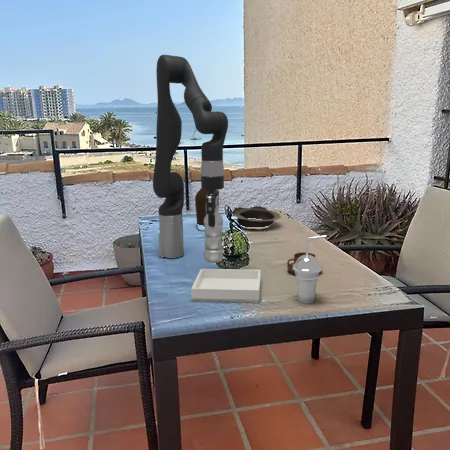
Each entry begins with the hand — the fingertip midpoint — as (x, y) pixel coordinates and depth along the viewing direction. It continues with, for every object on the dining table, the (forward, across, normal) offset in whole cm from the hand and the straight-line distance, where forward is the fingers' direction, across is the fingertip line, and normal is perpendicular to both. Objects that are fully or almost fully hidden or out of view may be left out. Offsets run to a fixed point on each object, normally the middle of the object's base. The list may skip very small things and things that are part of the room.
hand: (213, 223), depth 145 cm
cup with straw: (+18, +20, +30) cm, 41 cm away
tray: (+18, +14, +6) cm, 24 cm away
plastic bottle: (+14, 0, 0) cm, 14 cm away
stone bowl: (+19, -73, +12) cm, 76 cm away
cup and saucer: (+19, -5, +31) cm, 37 cm away
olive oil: (+19, -68, -13) cm, 71 cm away
